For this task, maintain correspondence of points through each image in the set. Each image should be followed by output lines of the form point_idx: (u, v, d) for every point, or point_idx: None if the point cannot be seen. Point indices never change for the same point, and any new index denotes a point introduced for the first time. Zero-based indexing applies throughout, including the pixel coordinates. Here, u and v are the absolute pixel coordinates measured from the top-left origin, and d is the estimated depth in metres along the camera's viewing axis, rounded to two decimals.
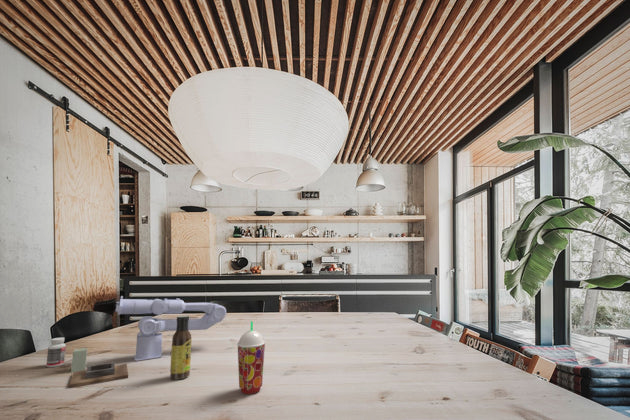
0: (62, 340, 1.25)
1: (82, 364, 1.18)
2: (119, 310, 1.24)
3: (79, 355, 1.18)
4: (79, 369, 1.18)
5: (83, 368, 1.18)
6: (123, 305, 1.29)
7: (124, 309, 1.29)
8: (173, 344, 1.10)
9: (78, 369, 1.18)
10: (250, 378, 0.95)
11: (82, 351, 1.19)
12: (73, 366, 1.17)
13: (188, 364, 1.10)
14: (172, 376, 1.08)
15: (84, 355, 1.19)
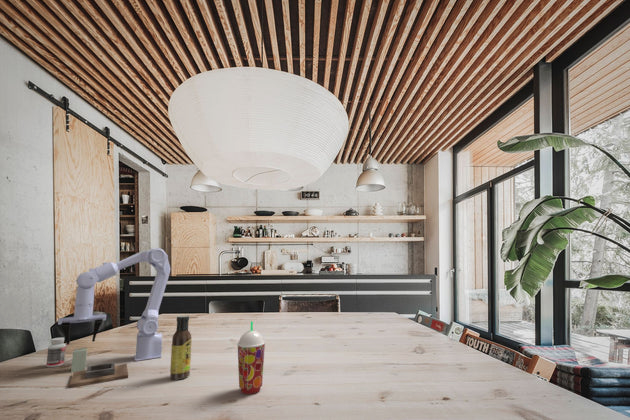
0: (62, 340, 1.25)
1: (82, 364, 1.18)
2: None
3: (79, 355, 1.18)
4: (79, 369, 1.18)
5: (83, 368, 1.18)
6: (92, 314, 1.23)
7: None
8: (173, 344, 1.10)
9: (78, 369, 1.18)
10: (250, 378, 0.95)
11: (82, 351, 1.19)
12: (73, 366, 1.17)
13: (188, 364, 1.10)
14: (172, 376, 1.08)
15: (84, 355, 1.19)
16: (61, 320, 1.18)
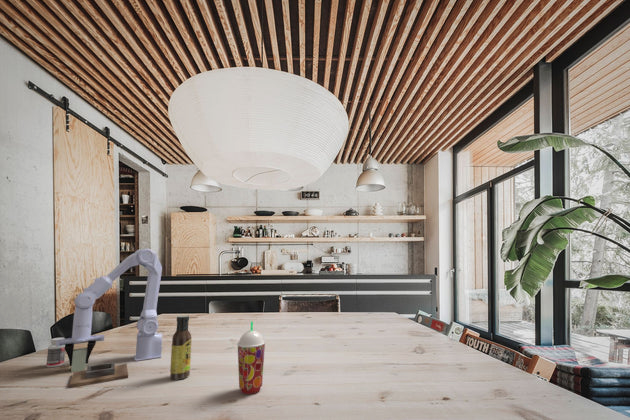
0: None
1: (82, 364, 1.18)
2: (104, 336, 1.25)
3: (79, 355, 1.18)
4: (79, 369, 1.18)
5: (83, 368, 1.18)
6: (90, 335, 1.22)
7: None
8: (173, 344, 1.10)
9: (78, 369, 1.18)
10: (250, 378, 0.95)
11: (82, 351, 1.19)
12: (73, 366, 1.17)
13: (188, 364, 1.10)
14: (172, 376, 1.08)
15: (84, 355, 1.19)
16: (59, 342, 1.16)
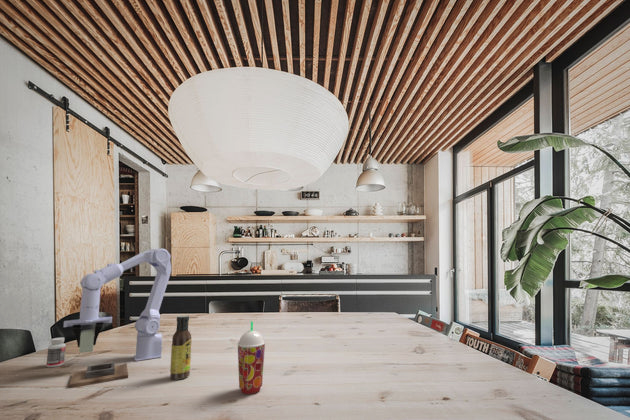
0: (62, 340, 1.25)
1: (89, 345, 1.17)
2: None
3: (86, 336, 1.17)
4: (87, 350, 1.17)
5: (91, 349, 1.17)
6: (97, 316, 1.21)
7: None
8: (173, 344, 1.10)
9: (86, 350, 1.16)
10: (250, 378, 0.95)
11: (90, 332, 1.18)
12: (81, 347, 1.16)
13: (188, 364, 1.10)
14: (172, 376, 1.08)
15: (92, 336, 1.18)
16: (67, 323, 1.15)
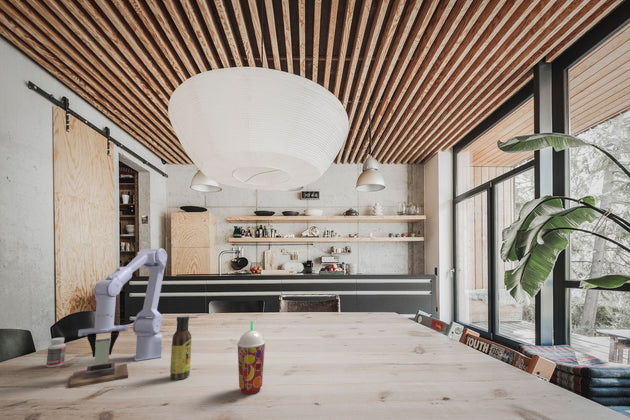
0: (62, 340, 1.25)
1: (105, 355, 1.12)
2: (127, 326, 1.18)
3: (102, 346, 1.11)
4: (102, 360, 1.11)
5: (106, 359, 1.12)
6: (113, 325, 1.15)
7: None
8: (173, 344, 1.10)
9: (101, 360, 1.11)
10: (250, 378, 0.95)
11: (105, 341, 1.12)
12: (96, 357, 1.10)
13: (188, 364, 1.10)
14: (172, 376, 1.08)
15: (107, 346, 1.12)
16: (81, 332, 1.10)
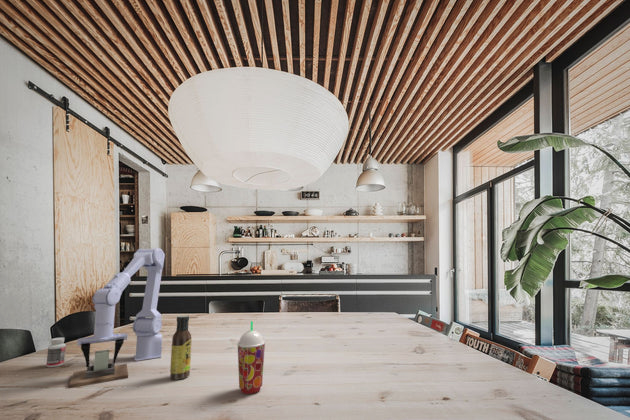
0: (62, 340, 1.25)
1: (104, 367, 1.11)
2: None
3: (101, 358, 1.11)
4: None
5: None
6: (112, 333, 1.15)
7: None
8: (173, 344, 1.10)
9: None
10: (250, 378, 0.95)
11: (104, 353, 1.12)
12: (95, 369, 1.10)
13: (188, 364, 1.10)
14: (172, 376, 1.08)
15: (106, 358, 1.12)
16: (80, 341, 1.09)
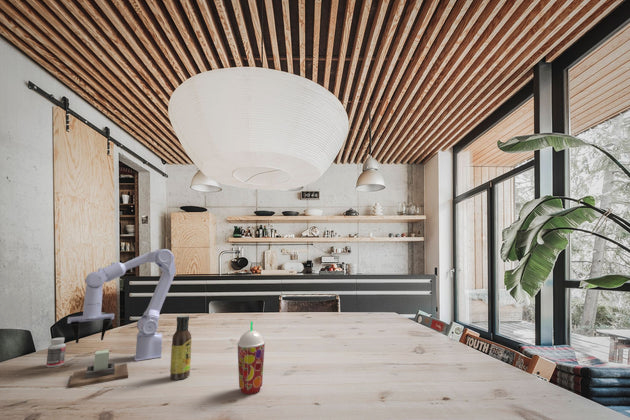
0: (62, 340, 1.25)
1: (104, 367, 1.11)
2: None
3: (101, 358, 1.11)
4: None
5: None
6: (100, 313, 1.25)
7: None
8: (173, 344, 1.10)
9: None
10: (250, 378, 0.95)
11: (104, 353, 1.12)
12: (95, 369, 1.10)
13: (188, 364, 1.10)
14: (172, 376, 1.08)
15: (106, 358, 1.12)
16: (70, 319, 1.20)
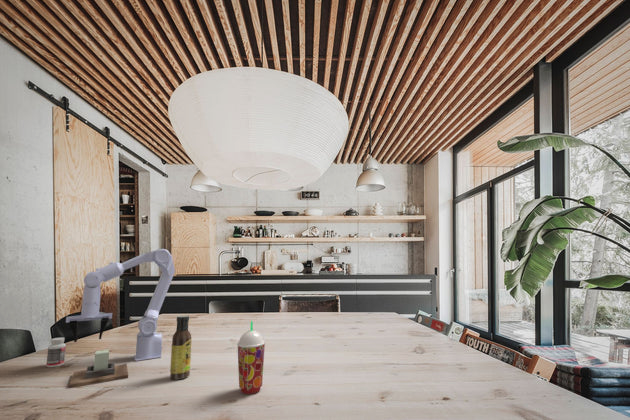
0: (62, 340, 1.25)
1: (104, 367, 1.11)
2: None
3: (101, 358, 1.11)
4: None
5: None
6: (98, 312, 1.26)
7: None
8: (173, 344, 1.10)
9: None
10: (250, 378, 0.95)
11: (104, 353, 1.12)
12: (95, 369, 1.10)
13: (188, 364, 1.10)
14: (172, 376, 1.08)
15: (106, 358, 1.12)
16: (69, 318, 1.21)
